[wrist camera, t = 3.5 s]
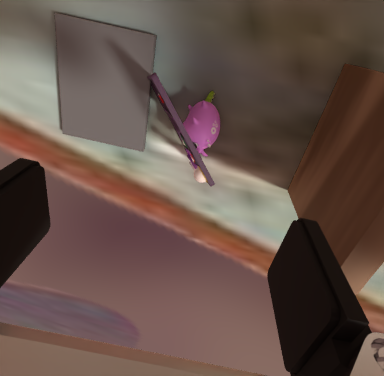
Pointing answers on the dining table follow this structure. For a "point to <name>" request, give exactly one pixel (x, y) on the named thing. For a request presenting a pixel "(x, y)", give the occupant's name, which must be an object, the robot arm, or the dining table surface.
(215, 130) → the pink radish toy
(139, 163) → the dining table surface
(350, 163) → the screen
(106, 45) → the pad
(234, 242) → the dining table surface
